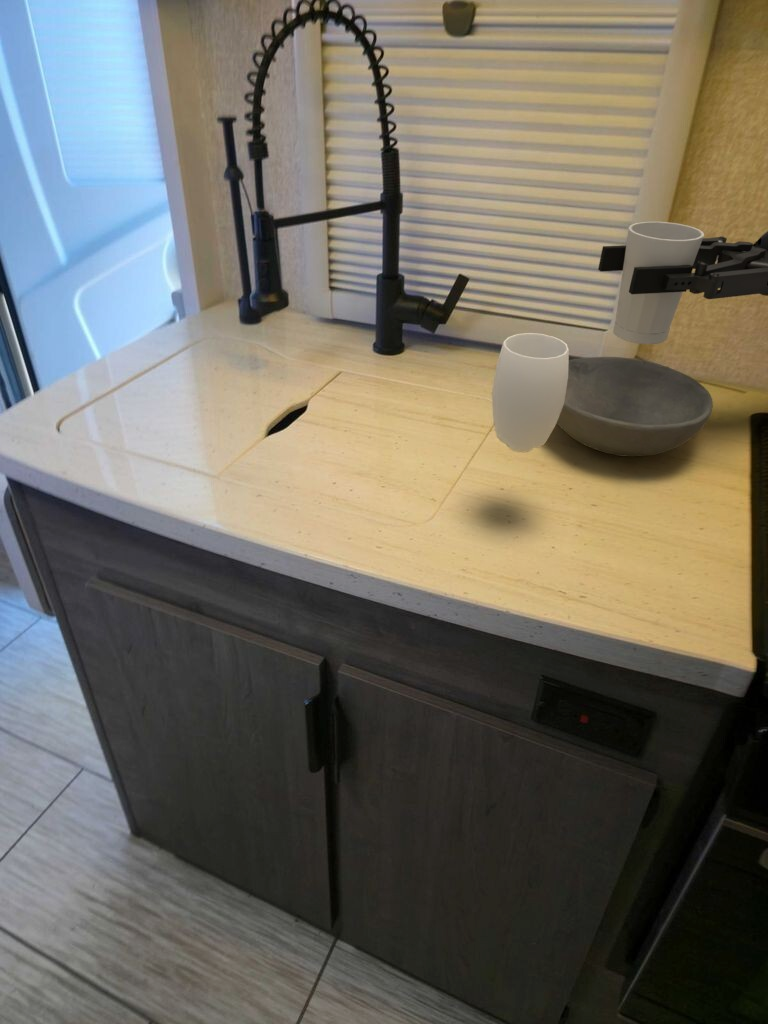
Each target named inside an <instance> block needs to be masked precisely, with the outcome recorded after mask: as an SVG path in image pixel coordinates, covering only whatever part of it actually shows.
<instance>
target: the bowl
mask: <svg viewBox="0 0 768 1024" xmlns="http://www.w3.org/2000/svg"><path fill="white" fill-rule="evenodd" d="M713 408H714V402H713V398H712V395H711V394H710V392H709V391H708V389H707V388H706V387H705V386H704V385H702V384H701V383H700V382H699V381H698V380H696V379H694V378H693V377H691V376H689V375H687V374H685V373H684V372H681V371H679V370H677V369H673V368H671V367H669V366H667V365H663V364H659V363H657V362H654V361H650V360H645V359H644V360H643V359H638V358H632V357H621V356H596V357H595V356H594V357H592V356H591V357H580V358H573V359H569V364H568V381H567V388H566V394H565V401H564V405H563V407H562V410H561V413H560V415H559V418H558V421H557V423H556V425H558V426H559V427H560V428H561V430H562V431H564V433H566V434H567V435H568V436H570V437H571V438H573V439H574V440H575V441H577V442H579V443H581V444H582V445H584V446H586V447H589V448H591V449H593V450H596V451H599V452H602V453H605V454H609V455H614V456H621V457H645V456H653V455H656V454H662V453H665V452H669V451H671V450H673V449H676V448H678V447H680V446H682V445H684V444H685V443H687V442H688V441H689V440H691V439H692V438H694V437H695V436H696V435H697V434H698V433H699V432H700V431H701V430H702V429H703V428H704V427H705V425H706V423H707V422H708V421H709V418H710V416H711V414H712V411H713Z"/></svg>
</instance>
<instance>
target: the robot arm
mask: <svg viewBox="0 0 768 1024" xmlns="http://www.w3.org/2000/svg"><path fill="white" fill-rule="evenodd" d="M727 241H728V238H726V237H725V236H722V235H721V236H716V237H703V240H702V242H701V245H700V248H699V250H698V253H697V255H696V258H695V261H694V263H693V265H692V266H691V265H678V266H651V267H634V271H633V275H632V280H631V284H630V288H629V293H631V294H649V293H669V292H683V293H685V292H689V293H691V294H693V295H699V294H703V296H702V297H703V299H706V300H716V299H717V300H718V299H724V298H733V297H742V296H751V295H761V296H766V297H768V230H767V231H766V232H764V233H763V234H762V235H761V236H760V237H759V238H758V239H757V240H756V241H755V242H751V241H737V242H727ZM625 251H626V245H625V244H624V245H603V246H602V248H601V254H600V259H599V263H598V271H599V272H619V271H621V272H623V266H624V259H625ZM693 270H694V272H693Z"/></svg>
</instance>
